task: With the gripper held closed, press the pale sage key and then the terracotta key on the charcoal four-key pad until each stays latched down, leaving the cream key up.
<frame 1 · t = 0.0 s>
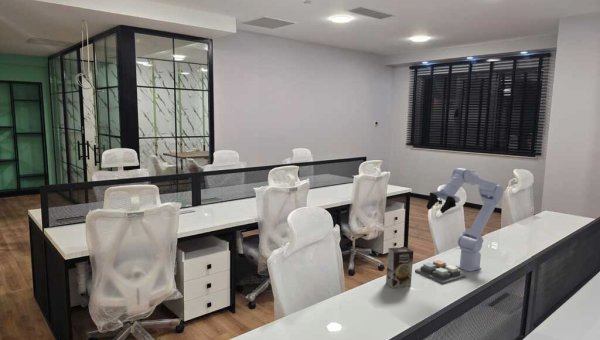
hand: (434, 209, 181), 32 cm above the table, tool tilted 50°, fingers open, 7 cm apart
terracotta key: (439, 264, 195), point 3 cm above the table, slide at 0.0 cm
keypad: (439, 274, 191), on the table
coffee box: (398, 285, 178), on the table
cream key: (451, 269, 189), point 3 cm above the table, slide at 0.0 cm
sage key: (441, 271, 186), point 3 cm above the table, slide at 0.0 cm
slate key: (429, 266, 192), point 3 cm above the table, slide at 0.0 cm
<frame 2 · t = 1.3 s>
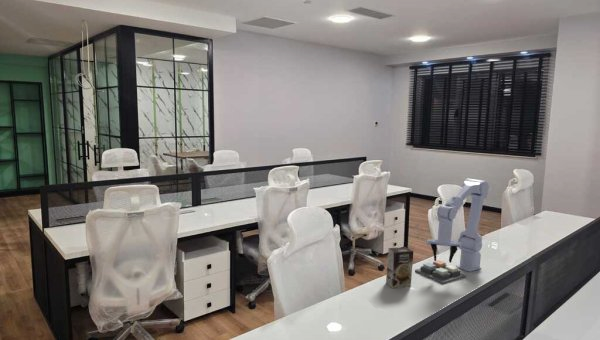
hand: (442, 261, 185), 8 cm above the table, tool pointing down, fingers open, 6 cm apart
nothing on the table moved.
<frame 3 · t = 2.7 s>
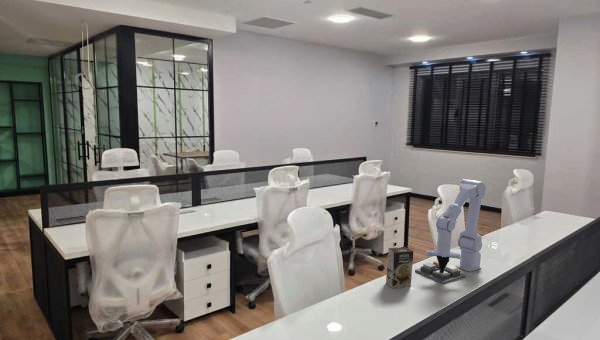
hand: (441, 272, 186), 3 cm above the table, tool pointing down, fingers closed, pressing on sage key
sage key: (441, 273, 186), point 2 cm above the table, slide at 1.0 cm, touching gripper
everything else where it was.
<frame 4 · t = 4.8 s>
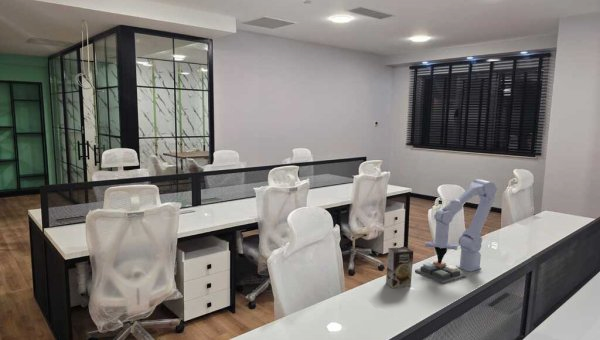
hand: (439, 262, 195), 4 cm above the table, tool pointing down, fingers closed, pressing on terracotta key
terracotta key: (439, 264, 195), point 3 cm above the table, slide at 0.1 cm, touching gripper
sage key: (441, 274, 186), point 2 cm above the table, slide at 1.1 cm
everything else where it was.
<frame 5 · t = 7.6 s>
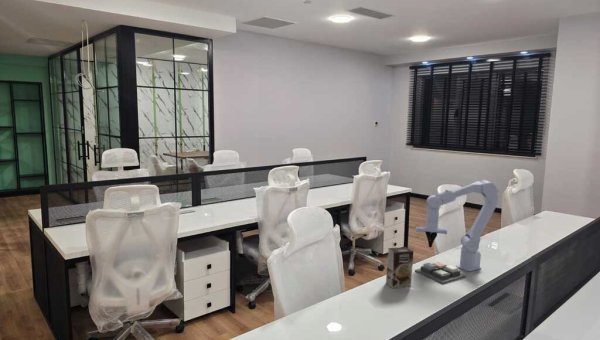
hand: (430, 246, 202), 9 cm above the table, tool pointing down, fingers closed
terracotta key: (439, 266, 196), point 2 cm above the table, slide at 1.1 cm
everything else where it was.
at the end: sage key slide at 1.1 cm; terracotta key slide at 1.1 cm; cream key slide at 0.0 cm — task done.
